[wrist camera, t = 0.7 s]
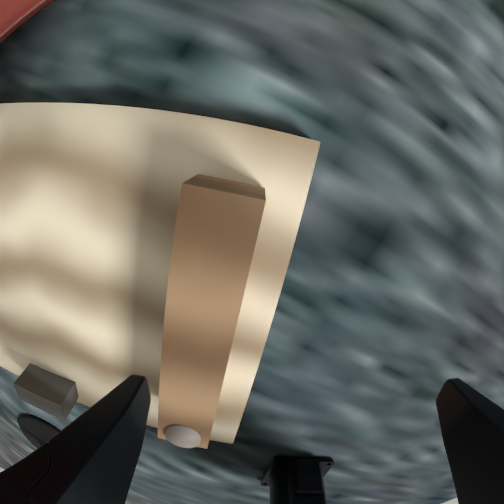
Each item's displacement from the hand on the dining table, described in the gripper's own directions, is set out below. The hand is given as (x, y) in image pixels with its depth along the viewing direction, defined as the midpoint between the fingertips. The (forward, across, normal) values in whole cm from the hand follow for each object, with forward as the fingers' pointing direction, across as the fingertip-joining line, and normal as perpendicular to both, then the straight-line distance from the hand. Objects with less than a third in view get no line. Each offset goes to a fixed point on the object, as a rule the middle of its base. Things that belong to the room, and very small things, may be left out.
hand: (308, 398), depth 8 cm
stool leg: (+10, +4, +5) cm, 12 cm away
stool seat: (+12, +12, +4) cm, 18 cm away
